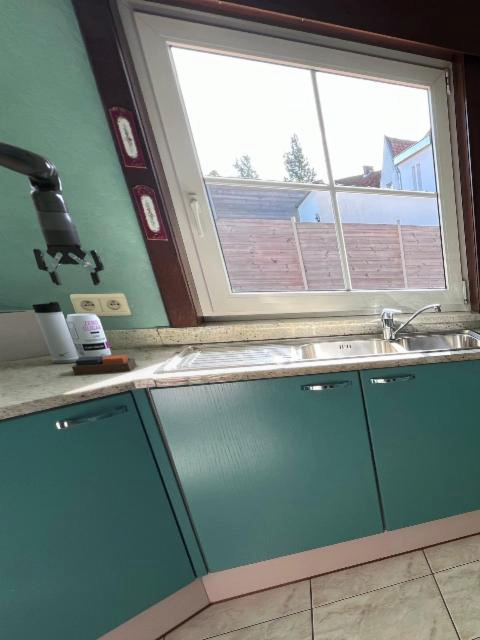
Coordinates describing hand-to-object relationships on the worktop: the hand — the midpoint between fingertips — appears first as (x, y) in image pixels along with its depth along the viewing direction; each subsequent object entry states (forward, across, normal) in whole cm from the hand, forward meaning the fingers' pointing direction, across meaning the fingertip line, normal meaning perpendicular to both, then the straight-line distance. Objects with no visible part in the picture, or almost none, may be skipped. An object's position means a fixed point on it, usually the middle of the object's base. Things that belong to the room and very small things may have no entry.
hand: (78, 285), depth 154 cm
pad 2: (+26, +4, -5) cm, 26 cm away
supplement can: (+26, -7, +21) cm, 34 cm away
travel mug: (+26, -13, +15) cm, 33 cm away
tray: (+26, +1, -5) cm, 27 cm away
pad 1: (+26, -2, -5) cm, 26 cm away
